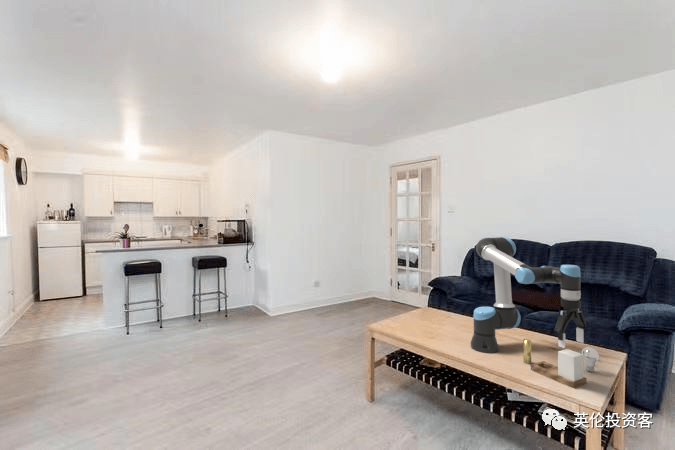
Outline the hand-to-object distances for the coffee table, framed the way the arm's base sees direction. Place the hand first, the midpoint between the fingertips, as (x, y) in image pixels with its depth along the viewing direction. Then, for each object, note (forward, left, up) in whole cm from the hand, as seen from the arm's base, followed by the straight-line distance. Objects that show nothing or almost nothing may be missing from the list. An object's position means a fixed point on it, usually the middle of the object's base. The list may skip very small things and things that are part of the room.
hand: (571, 344), depth 151 cm
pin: (-22, +1, -18) cm, 28 cm away
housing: (0, 0, -15) cm, 15 cm away
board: (-6, 0, -18) cm, 19 cm away
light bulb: (-2, +19, -18) cm, 26 cm away
